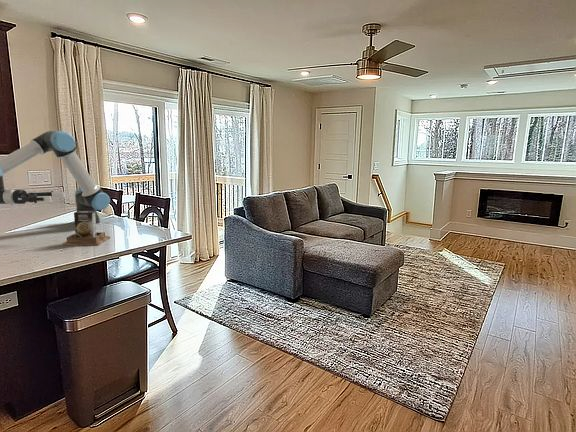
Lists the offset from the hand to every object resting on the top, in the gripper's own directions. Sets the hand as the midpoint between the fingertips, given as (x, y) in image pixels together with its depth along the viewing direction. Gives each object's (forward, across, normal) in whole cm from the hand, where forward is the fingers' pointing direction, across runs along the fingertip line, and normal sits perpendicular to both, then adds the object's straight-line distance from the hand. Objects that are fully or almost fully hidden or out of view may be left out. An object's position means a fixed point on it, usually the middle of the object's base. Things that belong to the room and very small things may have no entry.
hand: (57, 196), depth 198 cm
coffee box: (+12, 0, -24) cm, 27 cm away
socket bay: (+12, 0, -25) cm, 28 cm away
